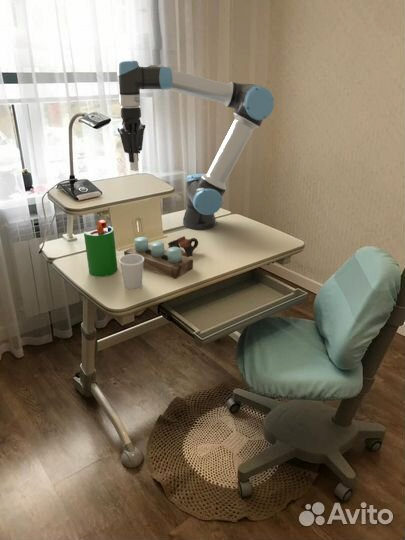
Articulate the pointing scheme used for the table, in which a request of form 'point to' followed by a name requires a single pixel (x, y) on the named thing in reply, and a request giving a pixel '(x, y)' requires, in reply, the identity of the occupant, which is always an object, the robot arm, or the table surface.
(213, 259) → the table surface
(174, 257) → the knob
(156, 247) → the knob
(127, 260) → the dixie cup
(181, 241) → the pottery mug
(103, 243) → the green pen holder
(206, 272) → the table surface
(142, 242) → the knob
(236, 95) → the robot arm
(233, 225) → the table surface
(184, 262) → the mount
